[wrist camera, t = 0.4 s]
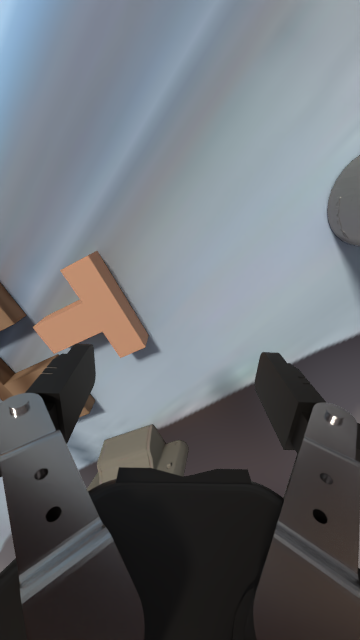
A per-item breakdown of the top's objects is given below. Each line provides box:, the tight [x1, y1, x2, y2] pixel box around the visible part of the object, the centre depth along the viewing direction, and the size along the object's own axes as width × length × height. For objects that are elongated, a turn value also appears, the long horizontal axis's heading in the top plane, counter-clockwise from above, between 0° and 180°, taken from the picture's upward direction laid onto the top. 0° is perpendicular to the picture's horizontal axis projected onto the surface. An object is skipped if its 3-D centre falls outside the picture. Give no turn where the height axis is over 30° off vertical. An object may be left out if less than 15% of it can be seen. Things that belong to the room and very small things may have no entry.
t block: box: [33, 251, 149, 358], centre depth 30 cm, size 10×12×3 cm
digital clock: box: [87, 424, 189, 491], centre depth 37 cm, size 16×9×11 cm, turn 103°
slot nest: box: [0, 283, 95, 417], centre depth 33 cm, size 10×24×2 cm, turn 26°
